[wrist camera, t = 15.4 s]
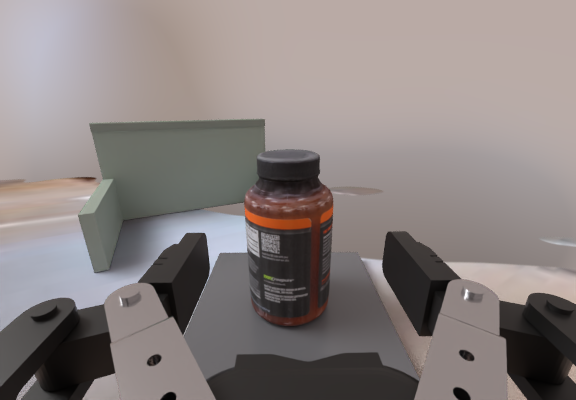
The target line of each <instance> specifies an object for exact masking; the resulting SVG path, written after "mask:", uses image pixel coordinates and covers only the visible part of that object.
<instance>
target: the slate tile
mask: <svg viewBox="0 0 576 400" xmlns="http://www.w3.org/2000/svg"><path fill="white" fill-rule="evenodd" d="M248 265H249V264H248V253H220V254H219V256H218V259H217V261H216V263H215V266H214V268H213V270H212V273H211V275H210V277H209V280H208V282H207V284H206V286H205V289H204V291H203V293H202V296H201V298H200V300H199V303H198V305H197V307H196V310H195V312H194V314H193V316H192V319H191V321H190V323H189V326H188V328H187V330H186V333H185V335H184V339H185V341H186V343H187V345H188V346H189V348H190V350H191V352H192V354H193V356H194V358H195V360H196V362H197V364H198V366H199V368H200V370H201V372H202V374H203V376H204V378H205V380H206V379H208V378H210V377H211V376H213V375H215V374H217V373H219V372H221V371H224V370H226V369H229V368H232V367H235V362H236V356H237V354H275V355H279V356H284V357H288V358H293V359H297V360H302V361H307V362H308V361H314V360H318V359H322V358H326V357H330V356H333V355H337V354H341V353H365V352H378V354H379V356H380V359H381V361H382V364H383V365H385V366H389V367H392V368H395V369H398V370H400V371H402V372H405V373H406V374H408V375H410V376H412V377H414V378H415V379H417V380H418V381H420V379H419V377H418V375H417V373H416V371H415V369H414V366H413V364H412V362H411V360H410V358H409V356H408V354H407V352H406V350H405V348H404V346H403V344H402V342H401V340H400V338H399V336H398V334H397V332H396V330H395V328H394V326H393V324H392V322H391V319H390V317H389V315H388V313H387V311H386V309H385V307H384V305H383V303H382V301H381V299H380V297H379V295H378V293H377V291H376V289H375V287H374V285H373V283H372V281H371V279H370V277H369V275H368V273H367V270H366V268H365V266H364V264H363V262H362V260H361V258H360V256H359V254H358V252H331V264H330V286H329V296H328V303H327V306H326V308H325V310H324V311H323V312H322V314H321V315H320V316H319V317H317V318H316V319H314V320H312V321H310V322H308V323H305V324H302V325H297V326H283V325H277V324H273V323H271V322H268V321H267V320H265V319H263V318H262V317H261V316H259V315H258V314H257V312H256V311H255V309H254V308H253V305H252V302H251V294H250V280H249V266H248Z"/></svg>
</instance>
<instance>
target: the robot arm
mask: <svg viewBox="0 0 576 400" xmlns="http://www.w3.org/2000/svg"><path fill="white" fill-rule="evenodd" d="M382 268H383V273H384V276H385V278H386V280H387V282H388V283H389V285H390V287H391V288H392V290H393V292H394V294H395V295H396V297H397V299H398V300H399V302H400V304H401V306H402V307H403V309H404V311H405V312H406V314H407V316H408V318H409V319H410V321H411V323H412V324H413V326H414V328H415V329H416V331H417V333H418V335H419V336H432V339H431V343H430V346H429V350H428V353H427V357H426V360H425V364H424V367H423V371H422V374H421V378H420V381H418V380H417V379H415V378H414V377H412V376H410V375H408V374H406V373H405V372H402V371H400V370H398V369H395V368H392V367H389V366H385V365H383V364H382V361H381V359H380V356H379V354H378V352H365V353H341V354H337V355H333V356H330V357H326V358H322V359H318V360H314V361H308V362H307V361H302V360H297V359H293V358H288V357H284V356H279V355H275V354H237V356H236V362H235V367H232V368H229V369H226V370H224V371H221V372H219V373H217V374H215V375H213V376H211V377H210V378H208V379H206V380H205V378H204V376H203V374H202V372H201V370H200V368H199V366H198V364H197V362H196V360H195V358H194V356H193V354H192V352H191V350H190V348H189V346H188V345H187V343H186V341H185V339H184V337H183V334H184V332H185V330H186V327H187V325H188V323H189V321H190V318H191V316H192V314H193V311H194V309H195V307H196V305H197V302H198V300H199V298H200V295H201V293H202V291H203V288H204V286H205V284H206V282H207V279H208V276H209V270H210V264H209V255H208V247H207V238H206V235H205V233H186V234H185V236H184V237H183V238H182V240H181V241H180V242H179V244H173V245H172V246H170V247H169V248H167V249H165V250H164V251H163V252H162V253H161V255H160V256H159V257H158V259H157V260H156V261H155V262H154V263H153V265H152V266H151V267H150V268H149V269H148V271H147V272H146V273H145V274H144V275H143V277H142V278H141V279H140V280H139V281H138V283H135V284H130V285H127V286H124V287H122V288H120V289H118V290H116V291H115V292H113V293H112V294H111V295H109V296H108V298H107V299H106V301H105V303H104V304H103V305H99V306H94V307H90V308H85V309H80V310H77V308H76V305H75V302H74V300H72V299H70V298H57V299H52V300H48V301H45V302H42V303H40V304H38V305H35V306H33V307H31V308H30V309H28V310H26V311H25V312H23V313H22V314H21V315H20V316H18V317H17V318H16V319H15V320H14V321H13V322H11V323H10V324H9V325H8V326H7V327H6V328H4V329H3V330H2V331H1V332H0V400H16V398H17V396H18V394H19V392H20V390H21V389H22V388H23V387H24V385H25V384H26V383H27V382H28V381H29V380H30V378H31V377H32V376H33V375H34V374H35V376H36V378H37V381H36V382H35V383H34V384H33V386H32V387H31V388H30V389H29V390H28V392H27V393H26V394H25V395H24V396H23V398H22V399H21V400H82V398H83V397H84V395H85V394H86V392H87V390H88V389H89V387H90V386H91V384H92V382H93V381H94V379H97V378H100V377H104V376H107V375H111V374H114V373H116V378H117V383H118V389H119V394H120V399H121V400H508V391H507V373H508V375H509V376H510V377H511V379H512V380H513V381H514V383H515V384H516V385H517V387H518V388H519V389H520V390H521V392H522V393H523V394H524V396H525V397H526V398H527V400H576V384H575V382H574V381H573V380H572V379H571V378H570V377H569V376H568V373H569V371H570V369H571V367H572V365H573V364H574V365H575V366H576V304H574V303H572V302H570V301H568V300H565V299H563V298H560V297H557V296H554V295H550V294H545V293H533V294H530V295H529V296H528V299H527V302H526V305H520V304H515V303H510V302H505V301H500V300H499V298H498V296H497V295H496V294H495V293H494V292H493V291H492V290H490V289H489V288H487V287H486V286H484V285H482V284H479V283H477V282H474V281H470V280H464V279H461V278H460V277H459V276H458V275H457V274H456V273H455V272H454V271H453V270H452V269H451V268H450V267H449V266H448V265H447V264H446V263H443V260H441V259H440V258H439V257H437V255H436V254H435V253H434V252H433V251H432V250H431V249H430V248H429V247H427V246H425V245H423V244H421V243H420V242H416V241H415V240H414V239H413V238H412V237H411V236H410V235H409V234H408V233H407V232H405V231H402V232H388V233H387V235H386V240H385V248H384V255H383V262H382Z"/></svg>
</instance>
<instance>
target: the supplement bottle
mask: <svg viewBox="0 0 576 400" xmlns="http://www.w3.org/2000/svg"><path fill="white" fill-rule="evenodd" d="M319 162H320V157H319V155H318V154H317V153H315V152H312V151H307V150H293V149H286V150H274V151H267V152H263V153H260V154H259V155H258V156H257V174H258V176H259V179H258V181H257V182H256V183H255V185H253V186H252V187H251V188H250V189H249V190H248V191H247V193H246V195H245V199H244V205H245V221H246V235H247V251H248V264H249V265H248V266H249V280H250V294H251V302H252V305H253V308H254V309H255V311H256V312H257V314H258V315H259V316H261V317H262V318H263V319H265V320H267V321H268V322H271V323H273V324H277V325H283V326H297V325H302V324H305V323H308V322H310V321H312V320H314V319H316V318H317V317H319V316H320V315H321V314H322V312H323V311H324V310H325V308H326V306H327V303H328V296H329V286H330V264H331V243H332V221H333V196H332V193H331V192H330V190H329V189H328V188H327V187H326V186H325V185H323V184H322V183H321V182H320V181H319V179H318V175H319V174H320V170H319Z"/></svg>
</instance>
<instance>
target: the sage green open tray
mask: <svg viewBox="0 0 576 400" xmlns="http://www.w3.org/2000/svg"><path fill="white" fill-rule="evenodd" d="M264 126H265V120H264V119H234V120H193V121H151V122H112V123H111V122H110V123H90V129H91V132H92V136H93V140H94V144H95V148H96V152H97V156H98V161H99V165H100V169H101V173H102V177H103V180H102V182H101V183H100V185H99V186H98V187H97V189H96V190H95V192H94V193H93V194H92V196H91V197H90V199H89V200H88V202H87V203H86V204H85V206H84V207H83V209H82V210H81V211H80V213H79V214H78V217H79V221H80V224H81V228H82V231H83V235H84V238H85V242H86V245H87V249H88V252H89V256H90V259H91V263H92V266H93V269H94V273H96V272H101V271H105V270H109V268H110V265H111V261H112V258H113V254H114V251H115V247H116V244H117V240H118V237H119V233H120V230H121V226H122V223H123V220H129V219H136V218H142V217H149V216H156V215H162V214H169V213H176V212H183V211H189V210H196V209H203V208H209V207H216V206H223V205H230V204H236V203H243V202H244V199H245V195H246V193H247V191H248V190H249V189H250V188H251V187H252V186H253V185H255V183H256V182H257V181H258V179H259V176H258V174H257V156H258V155H259V154H260V153H263V152H265V129H264V128H265V127H264Z"/></svg>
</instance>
